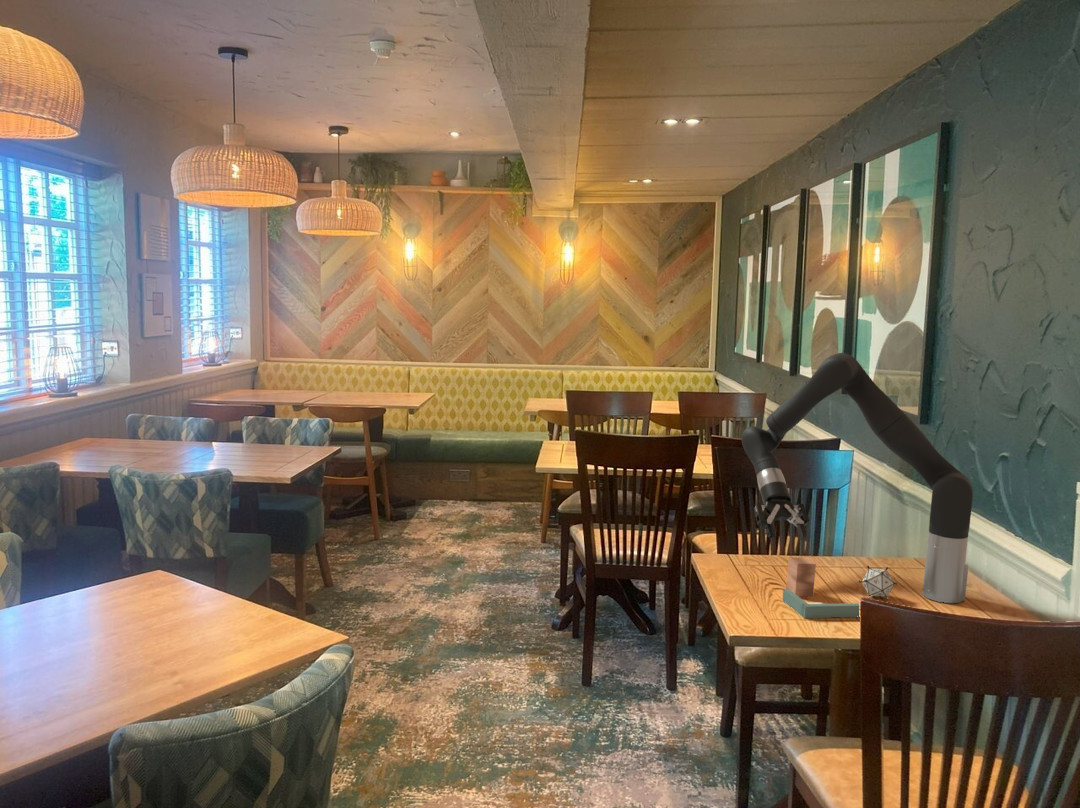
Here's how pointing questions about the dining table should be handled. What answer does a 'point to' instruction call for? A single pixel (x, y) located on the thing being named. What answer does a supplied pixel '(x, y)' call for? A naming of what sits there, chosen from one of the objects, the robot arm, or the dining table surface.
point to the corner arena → (819, 607)
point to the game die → (877, 582)
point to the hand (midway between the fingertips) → (788, 538)
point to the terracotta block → (801, 576)
